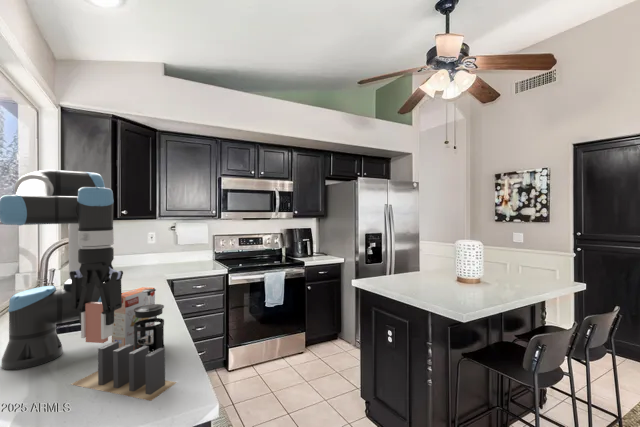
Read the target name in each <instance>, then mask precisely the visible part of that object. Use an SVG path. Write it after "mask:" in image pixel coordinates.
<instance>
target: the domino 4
mask: <svg viewBox="0 0 640 427" xmlns="http://www.w3.org/2000/svg"><path fill="white" fill-rule="evenodd" d="M165 380H166V348H165V347H164V348H159V349H157V350H155V351H153V350H152V351H151V352H149V354H147V355H145V381H146V394H149V395H151V394H153V393H154V392H155V391H157V390H158V389H160V388H161V387H163V386H164V385H165Z"/></svg>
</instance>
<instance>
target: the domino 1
mask: <svg viewBox="0 0 640 427" xmlns="http://www.w3.org/2000/svg"><path fill="white" fill-rule="evenodd" d="M118 348H119V342H112V341H111V342H110V343H108V344H105V345H103V346H101V347H98V348H97V371H98V385H105V384H106V383H108V382H110V381H112V380H113V351H114V350H116V349H118Z"/></svg>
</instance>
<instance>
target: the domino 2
mask: <svg viewBox="0 0 640 427" xmlns="http://www.w3.org/2000/svg"><path fill="white" fill-rule="evenodd" d="M132 351H134V344H127V345H125V346H123V347H120V348H118V349H116V350H114V351H113V388H120V387H121V386H123V385H125V384H127V383H128V382H129V353H130V352H132Z"/></svg>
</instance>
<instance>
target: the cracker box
mask: <svg viewBox="0 0 640 427" xmlns="http://www.w3.org/2000/svg"><path fill="white" fill-rule="evenodd" d="M146 289H156V288H155V287H147V286H146V287H144V286H142V287H139V288H136V289H132V290H128V291H125V292H121V293H122V307H121V308H119V309H117V310H115V311H114V323H113V324H112V335H111V343H112V342H119V348H120V347H123V346H125V345H127V344H134V324H135V323H136V322H138V321H141V320H145V319H149V318H137V317H135V312H134V309H135V308H137V307H140V306H144V305H149V304H148V296H147V292H142V291H143V290H146ZM155 299H156V292H155V291H153V292H151V295H150V305H151V304H156V302H155V301H156V300H155ZM151 318H156V316H155V317H150V319H151ZM155 323H156V322H150V326H154V325H156V324H155ZM148 326H149V323H146V327H148ZM137 327H140V325H138V326H137ZM147 335H149V331H146V336H147ZM150 335H153V330H150ZM138 338H140V331H137V339H138ZM138 347H140V346H138V345H137V348H138Z"/></svg>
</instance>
